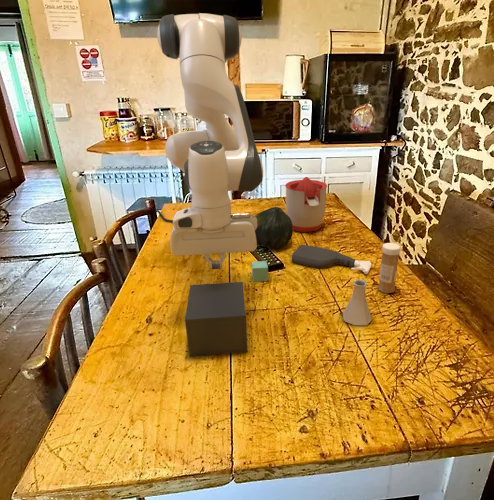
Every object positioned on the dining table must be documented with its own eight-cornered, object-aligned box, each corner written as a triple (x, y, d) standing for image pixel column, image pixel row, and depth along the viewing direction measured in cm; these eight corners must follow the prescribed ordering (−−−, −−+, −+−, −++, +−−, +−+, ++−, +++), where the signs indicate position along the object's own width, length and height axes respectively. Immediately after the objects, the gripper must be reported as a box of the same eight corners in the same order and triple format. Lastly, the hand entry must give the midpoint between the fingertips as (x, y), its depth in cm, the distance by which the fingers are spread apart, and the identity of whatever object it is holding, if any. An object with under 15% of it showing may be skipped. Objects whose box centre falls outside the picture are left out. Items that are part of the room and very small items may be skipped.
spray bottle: (301, 250, 134) (373, 264, 125) (288, 263, 125) (366, 279, 116) (301, 242, 133) (374, 256, 124) (289, 255, 124) (367, 270, 115)
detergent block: (252, 274, 119) (251, 261, 117) (266, 273, 120) (266, 260, 118) (253, 281, 115) (252, 268, 113) (268, 280, 116) (267, 267, 114)
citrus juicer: (293, 238, 144) (293, 185, 136) (280, 222, 160) (280, 173, 151) (333, 234, 148) (336, 181, 139) (317, 218, 163) (319, 170, 155)
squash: (246, 222, 145) (250, 200, 131) (285, 220, 148) (294, 199, 134) (250, 257, 139) (256, 238, 126) (291, 254, 142) (301, 236, 129)
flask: (369, 329, 94) (373, 292, 89) (339, 323, 96) (342, 287, 92) (373, 313, 100) (377, 278, 96) (345, 307, 102) (347, 273, 98)
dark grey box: (193, 318, 99) (190, 284, 95) (244, 314, 100) (242, 281, 96) (189, 356, 85) (184, 319, 81) (247, 352, 87) (245, 315, 83)
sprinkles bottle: (398, 290, 109) (404, 246, 104) (386, 295, 107) (392, 250, 102) (385, 283, 113) (390, 240, 107) (374, 288, 111) (379, 244, 105)
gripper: (255, 208, 95) (257, 260, 100) (169, 212, 93) (176, 265, 99) (258, 216, 89) (259, 271, 95) (165, 221, 87) (173, 277, 93)
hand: (216, 268), depth 97 cm, fingers closed
